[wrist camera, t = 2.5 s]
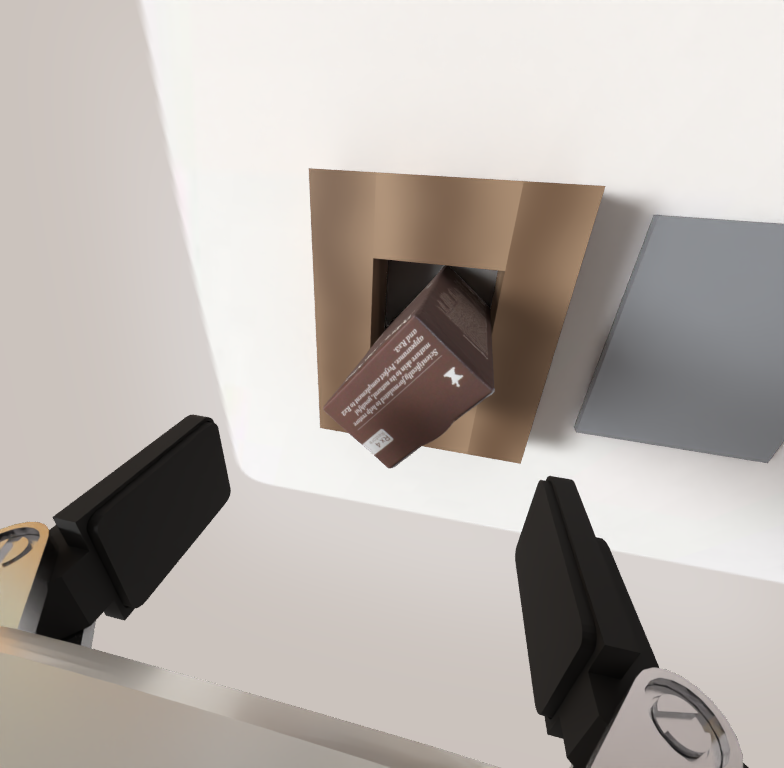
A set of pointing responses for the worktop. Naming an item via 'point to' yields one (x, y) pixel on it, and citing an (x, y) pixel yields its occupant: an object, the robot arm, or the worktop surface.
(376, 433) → the box
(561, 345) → the worktop surface
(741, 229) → the mat
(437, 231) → the pocket block
